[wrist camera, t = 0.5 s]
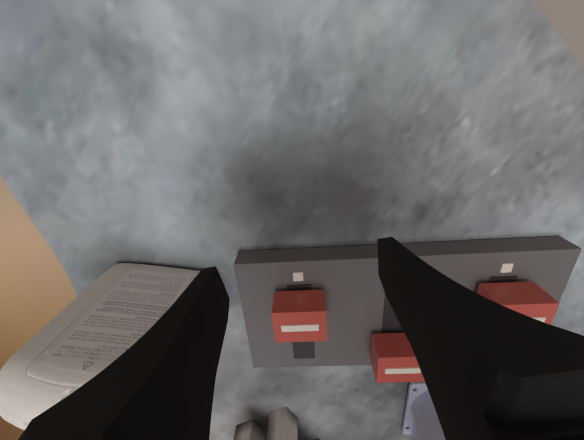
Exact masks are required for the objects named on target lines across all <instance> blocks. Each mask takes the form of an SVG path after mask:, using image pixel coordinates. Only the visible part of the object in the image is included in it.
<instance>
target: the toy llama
mask: <svg viewBox="0 0 584 440" xmlns="http://www.w3.org/2000/svg"><path fill="white" fill-rule="evenodd" d="M297 435H298V418H297V417H296V416H295V415H294V414H293V413H292V412H291V411H290V410H289V409H288V408H287V407H285V408H282V409H280V410H277V411H274V412H272V413H269V419H268V430H267V440H297ZM263 437H264V429H263V428H261V427H260V426H259V425H258V424H257V423H256V422H255V421H253V420H250V421H247V422H245V423H242V424H239V425H237V426H236V431H235V436H234V440H263ZM315 440H320V439H319V438H318V439H315Z"/></svg>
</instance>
